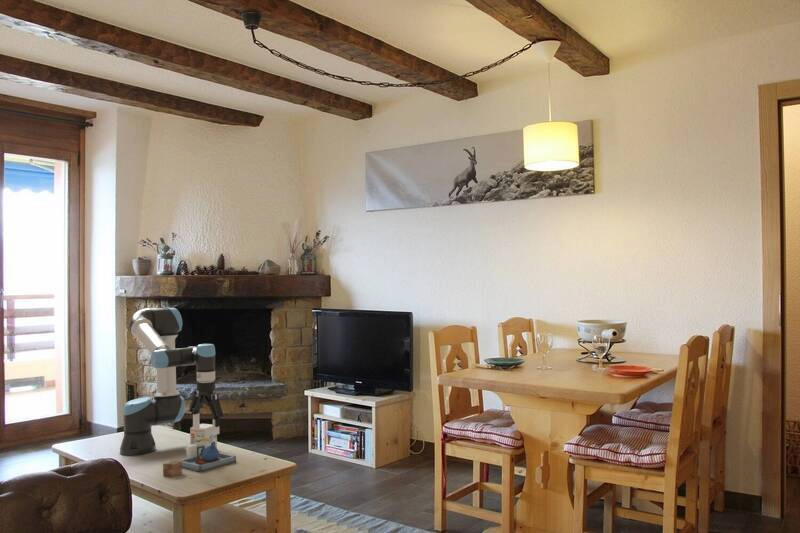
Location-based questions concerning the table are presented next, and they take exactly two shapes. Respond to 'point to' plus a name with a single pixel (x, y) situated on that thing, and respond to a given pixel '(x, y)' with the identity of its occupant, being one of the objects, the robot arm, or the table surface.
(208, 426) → the ink box
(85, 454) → the table surface
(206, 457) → the model
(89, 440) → the table surface
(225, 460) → the tray
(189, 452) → the white egg
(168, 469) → the walnut cube
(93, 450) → the table surface
